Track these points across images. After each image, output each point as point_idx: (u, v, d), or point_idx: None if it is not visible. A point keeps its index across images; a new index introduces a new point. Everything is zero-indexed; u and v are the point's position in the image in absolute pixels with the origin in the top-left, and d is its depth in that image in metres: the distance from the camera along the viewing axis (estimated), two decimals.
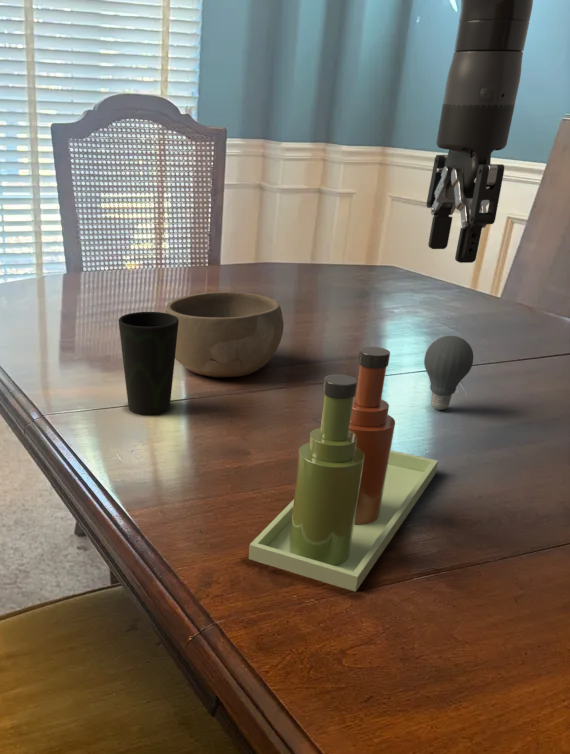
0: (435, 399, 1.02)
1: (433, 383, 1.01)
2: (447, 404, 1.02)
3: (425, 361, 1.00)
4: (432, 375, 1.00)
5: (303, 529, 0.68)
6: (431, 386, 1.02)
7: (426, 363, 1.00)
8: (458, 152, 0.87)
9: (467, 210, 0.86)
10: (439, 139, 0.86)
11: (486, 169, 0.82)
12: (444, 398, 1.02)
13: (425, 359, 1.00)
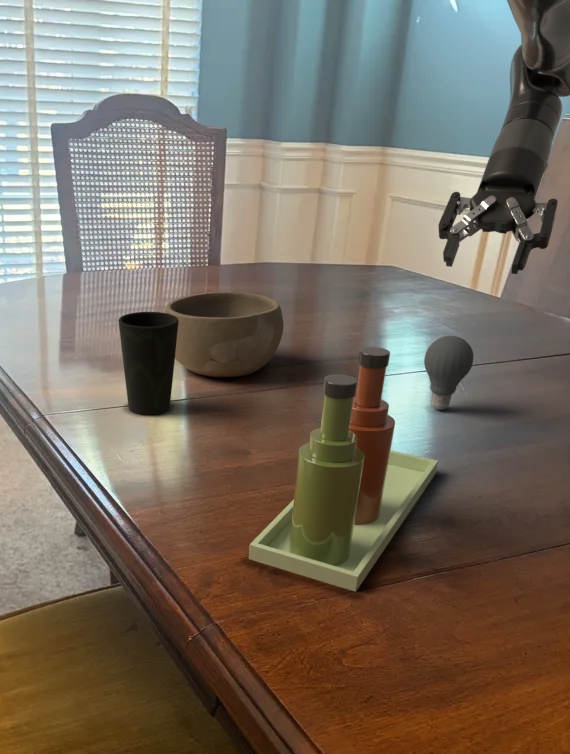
0: (435, 399, 1.02)
1: (433, 383, 1.01)
2: (447, 404, 1.02)
3: (425, 361, 1.00)
4: (432, 375, 1.00)
5: (303, 529, 0.68)
6: (431, 386, 1.02)
7: (426, 363, 1.00)
8: None
9: None
10: None
11: None
12: (444, 398, 1.02)
13: (425, 359, 1.00)
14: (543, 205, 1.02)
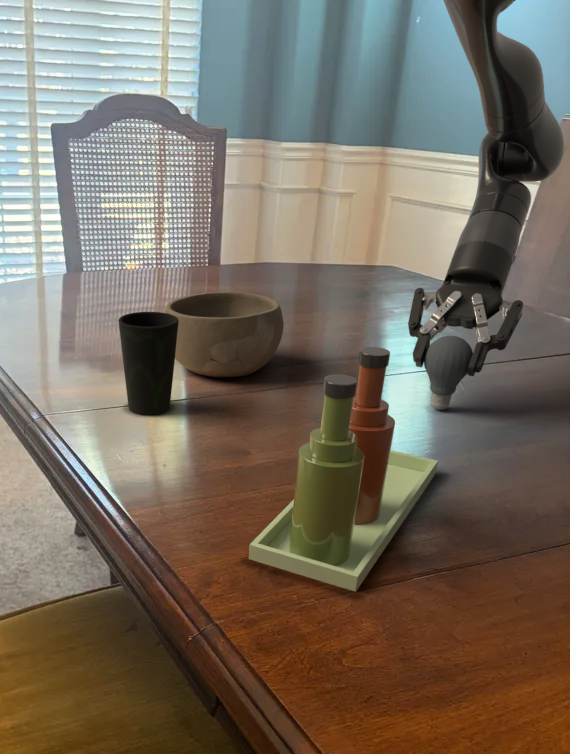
0: (435, 399, 1.02)
1: (433, 383, 1.01)
2: (447, 404, 1.02)
3: (425, 361, 1.00)
4: (432, 375, 1.00)
5: (303, 529, 0.68)
6: (431, 386, 1.02)
7: (426, 363, 1.00)
8: None
9: None
10: None
11: None
12: (444, 398, 1.02)
13: (425, 359, 1.00)
14: (509, 305, 0.98)
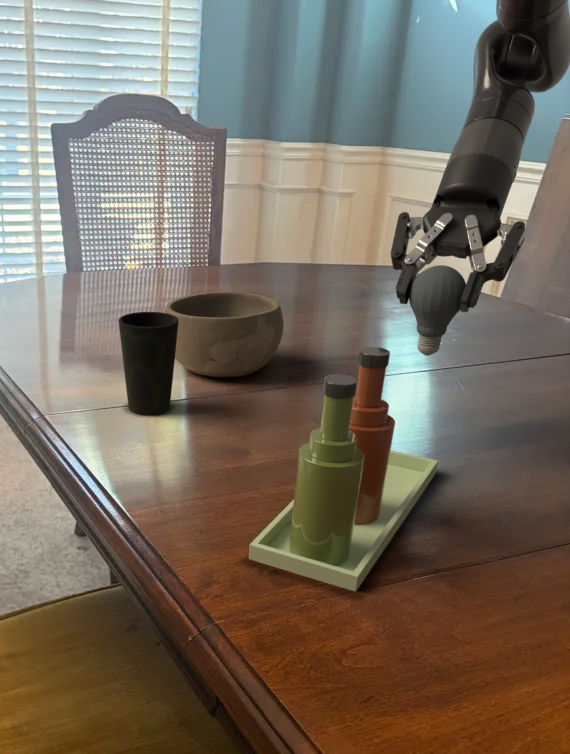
0: (422, 342, 0.88)
1: (420, 323, 0.86)
2: (437, 348, 0.88)
3: (410, 296, 0.85)
4: (419, 312, 0.85)
5: (303, 529, 0.68)
6: (418, 327, 0.87)
7: (411, 298, 0.85)
8: None
9: None
10: None
11: None
12: (433, 340, 0.87)
13: (410, 294, 0.86)
14: (509, 227, 0.83)
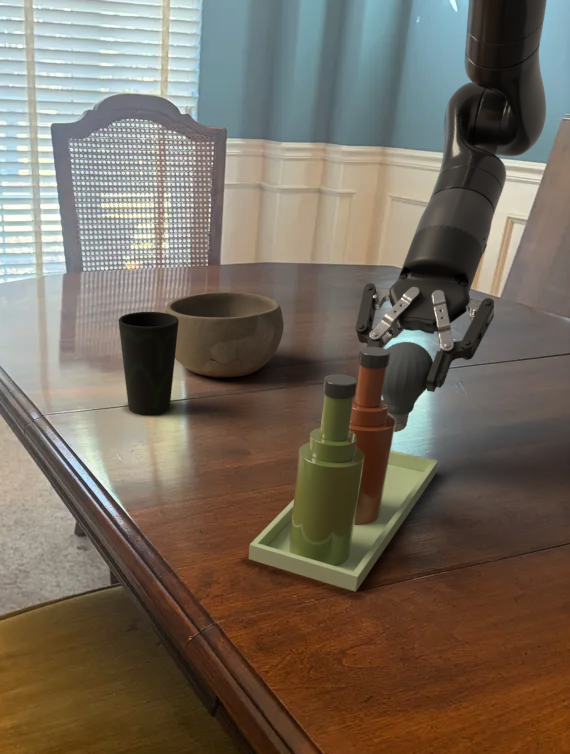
0: None
1: (386, 400, 0.83)
2: (404, 425, 0.84)
3: None
4: (384, 390, 0.82)
5: (303, 529, 0.68)
6: None
7: None
8: None
9: None
10: None
11: None
12: (399, 418, 0.84)
13: None
14: (477, 304, 0.80)
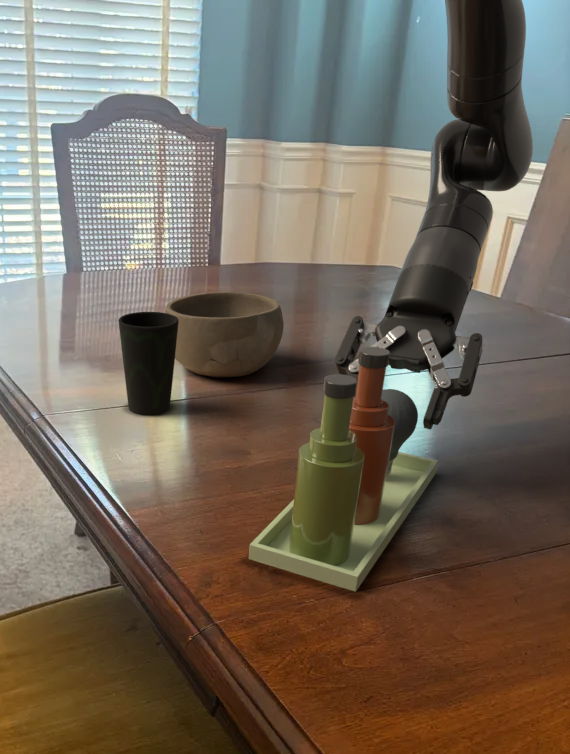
0: None
1: None
2: (388, 471, 0.84)
3: None
4: None
5: (303, 529, 0.68)
6: None
7: None
8: None
9: None
10: None
11: None
12: None
13: None
14: (465, 340, 0.79)
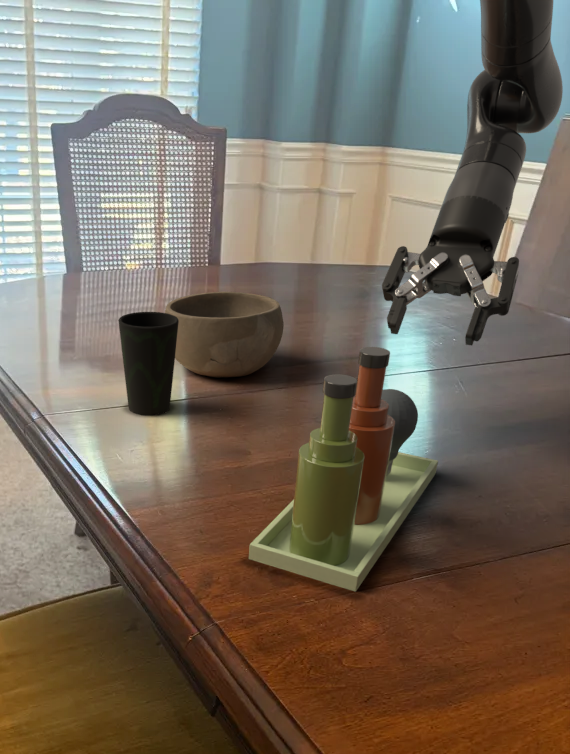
0: None
1: None
2: (388, 471, 0.84)
3: None
4: None
5: (303, 529, 0.68)
6: None
7: None
8: None
9: (406, 293, 0.92)
10: None
11: None
12: None
13: None
14: (502, 264, 0.87)
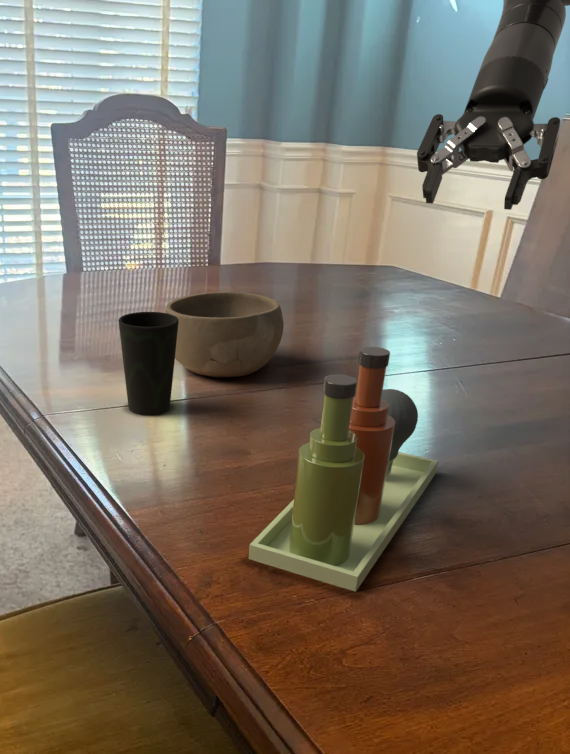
0: None
1: None
2: (388, 471, 0.84)
3: None
4: None
5: (303, 529, 0.68)
6: None
7: None
8: None
9: (442, 163, 0.89)
10: None
11: None
12: None
13: None
14: (543, 126, 0.84)
